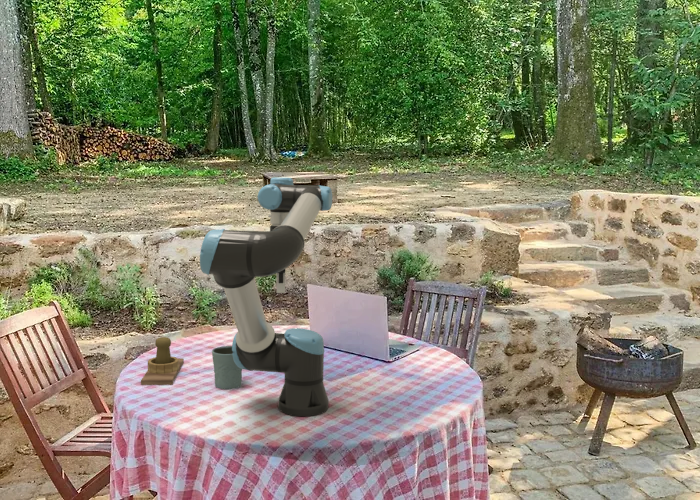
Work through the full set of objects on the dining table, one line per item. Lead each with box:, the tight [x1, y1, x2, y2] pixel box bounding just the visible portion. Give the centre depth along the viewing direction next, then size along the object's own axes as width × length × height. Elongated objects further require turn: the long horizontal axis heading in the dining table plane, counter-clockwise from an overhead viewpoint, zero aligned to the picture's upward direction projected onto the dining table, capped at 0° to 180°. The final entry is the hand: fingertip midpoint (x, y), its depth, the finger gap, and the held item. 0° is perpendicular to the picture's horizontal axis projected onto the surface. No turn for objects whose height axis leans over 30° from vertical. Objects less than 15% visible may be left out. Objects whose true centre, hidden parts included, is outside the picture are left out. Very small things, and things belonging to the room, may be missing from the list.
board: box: [140, 356, 185, 386], centre depth 224 cm, size 24×10×4 cm, turn 6°
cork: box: [154, 336, 172, 364], centre depth 224 cm, size 6×6×11 cm
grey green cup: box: [211, 345, 243, 390], centre depth 213 cm, size 10×10×12 cm
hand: (281, 288), depth 215 cm, fingers open, 13 cm apart
